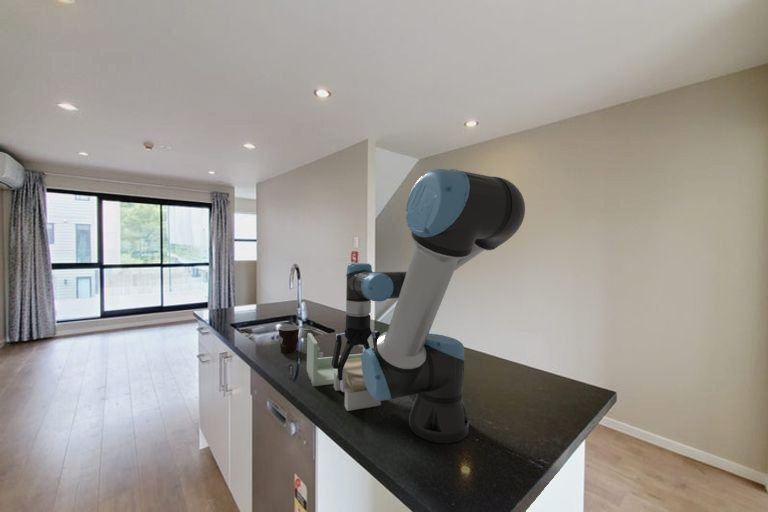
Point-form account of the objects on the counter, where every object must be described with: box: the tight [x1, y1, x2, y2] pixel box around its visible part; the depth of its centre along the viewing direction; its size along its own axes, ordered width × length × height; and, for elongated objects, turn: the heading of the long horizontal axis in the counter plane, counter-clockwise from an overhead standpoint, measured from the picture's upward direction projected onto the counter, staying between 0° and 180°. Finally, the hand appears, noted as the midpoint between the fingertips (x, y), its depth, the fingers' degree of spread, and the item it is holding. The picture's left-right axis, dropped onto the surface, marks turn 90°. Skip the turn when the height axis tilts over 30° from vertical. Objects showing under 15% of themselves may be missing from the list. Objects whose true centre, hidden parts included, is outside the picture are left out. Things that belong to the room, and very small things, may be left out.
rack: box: [333, 371, 382, 412], centre depth 98 cm, size 16×10×5 cm, turn 23°
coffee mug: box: [278, 324, 300, 354], centre depth 136 cm, size 12×9×10 cm
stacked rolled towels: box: [338, 358, 367, 391], centre depth 98 cm, size 18×8×2 cm, turn 23°
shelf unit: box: [306, 332, 374, 387], centre depth 114 cm, size 13×22×14 cm, turn 113°
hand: (356, 387), depth 98 cm, fingers closed on stacked rolled towels, 8 cm apart
